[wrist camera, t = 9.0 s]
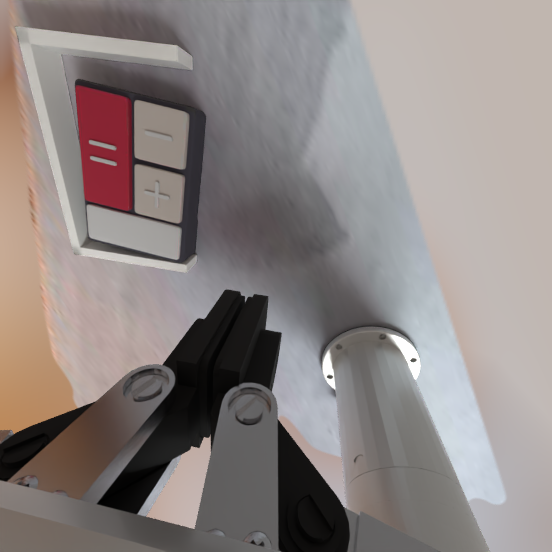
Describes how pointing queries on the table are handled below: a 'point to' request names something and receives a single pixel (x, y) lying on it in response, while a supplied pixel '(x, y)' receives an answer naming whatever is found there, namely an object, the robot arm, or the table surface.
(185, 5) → the table surface
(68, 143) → the white u-shaped fence
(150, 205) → the calculator
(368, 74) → the table surface
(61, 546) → the robot arm
